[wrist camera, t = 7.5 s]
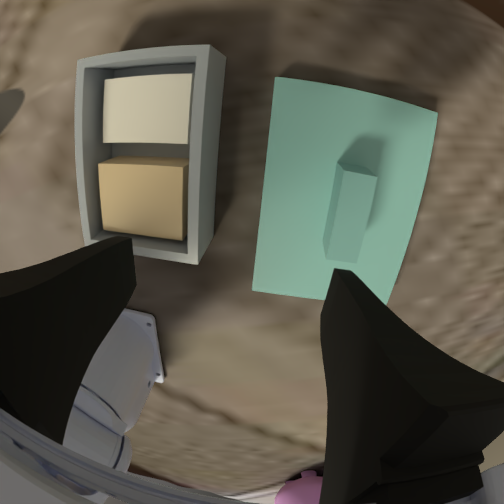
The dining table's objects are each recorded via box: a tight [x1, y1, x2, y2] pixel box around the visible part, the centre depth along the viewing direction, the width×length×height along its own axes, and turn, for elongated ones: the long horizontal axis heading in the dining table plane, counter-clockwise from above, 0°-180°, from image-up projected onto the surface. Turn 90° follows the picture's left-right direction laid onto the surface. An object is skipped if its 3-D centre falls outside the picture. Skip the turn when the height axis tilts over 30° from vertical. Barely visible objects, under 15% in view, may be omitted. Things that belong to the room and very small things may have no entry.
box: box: [75, 45, 226, 265], centre depth 16 cm, size 12×8×4 cm, turn 175°
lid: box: [252, 77, 438, 305], centre depth 17 cm, size 14×10×4 cm
